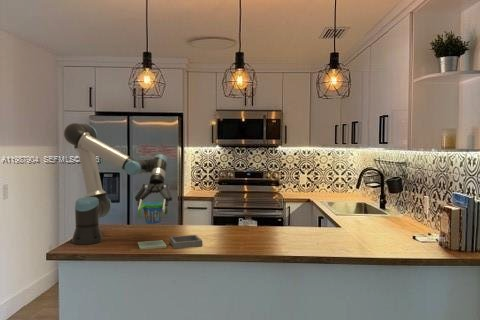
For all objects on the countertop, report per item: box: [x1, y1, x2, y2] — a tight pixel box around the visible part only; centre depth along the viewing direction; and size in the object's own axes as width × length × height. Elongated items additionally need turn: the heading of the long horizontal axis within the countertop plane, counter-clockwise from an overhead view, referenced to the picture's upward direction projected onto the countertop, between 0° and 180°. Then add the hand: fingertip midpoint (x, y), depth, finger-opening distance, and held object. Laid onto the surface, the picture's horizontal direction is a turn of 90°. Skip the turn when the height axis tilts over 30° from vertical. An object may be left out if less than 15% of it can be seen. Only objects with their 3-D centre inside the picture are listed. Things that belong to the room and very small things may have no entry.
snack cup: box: [137, 201, 169, 225], centre depth 210 cm, size 16×10×10 cm
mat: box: [137, 239, 167, 251], centre depth 211 cm, size 13×13×1 cm
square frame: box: [169, 234, 203, 250], centre depth 214 cm, size 14×14×3 cm
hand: (151, 211), depth 208 cm, fingers closed on snack cup, 12 cm apart
